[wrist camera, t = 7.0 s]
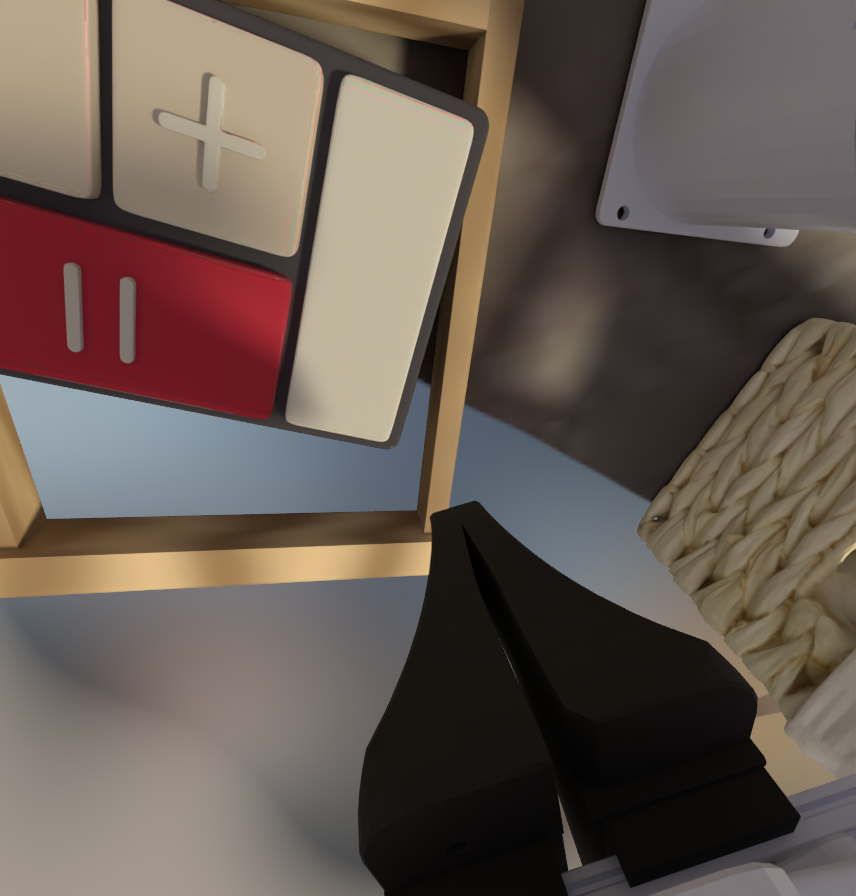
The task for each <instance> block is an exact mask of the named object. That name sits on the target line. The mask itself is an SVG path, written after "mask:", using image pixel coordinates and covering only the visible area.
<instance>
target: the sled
mask: <svg viewBox="0 0 856 896" xmlns="http://www.w3.org/2000/svg"><path fill="white" fill-rule="evenodd" d="M218 1H223V2H228V3H233V4H238V5H243V6H248V7H253V8H258V9H263V10H268V11H273V12H278V13H283V14H288V15H293V16H298V17H303V18H308V19H313V20H318V21H323V22H328V23H333V24H338V25H343V26H348V27H353V28H358V29H363V30H368V31H373V32H378V33H383V34H388V35H393V36H398V37H403V38H408V39H413V40H418V41H423V42H428V43H433V44H438V45H443V46H448V47H453V48H458V49H463V50H468V51H469V52H468V61H467V70H466V79H465V87H464V96H463V101H466V102H468V103H471V104H473V105H475V106H477V107H479V108H481V109H482V110H483V111H484V112H485V113H486V115H487V117H488V120H489V131H488V136H487V139H486V143H485V147H484V150H483V153H482V157H481V160H480V164H479V167H478V171H477V174H476V178H475V181H474V185H473V188H472V192H471V195H470V198H469V202H468V205H467V209H466V212H465V216H464V219H463V223H462V226H461V230H460V233H459V236H458V240H457V243H456V247H455V250H454V254H453V257H452V261H451V264H450V268H449V271H448V274H447V278H446V281H445V285H444V288H443V292H442V295H441V301H440V310H439V319H438V328H437V337H436V346H435V355H434V364H433V372H432V381H431V390H430V399H429V408H428V417H427V426H426V436H425V444H424V453H423V462H422V471H421V479H420V489H419V497H418V507H417V510H416V511H375V512H331V513H292V514H291V513H288V514H249V515H248V514H246V515H204V516H163V517H122V518H120V517H119V518H77V519H76V518H75V519H46V516H45V513H44V510H43V507H42V504H41V501H40V498H39V496H38V492H37V490H36V487H35V484H34V481H33V479H32V475H31V472H30V469H29V467H28V463H27V461H26V458H25V455H24V452H23V449H22V446H21V443H20V440H19V437H18V435H17V432H16V429H15V426H14V423H13V420H12V417H11V414H10V411H9V409H8V406H7V403H6V400H5V397H4V394H3V391H2V388H1V385H0V598H9V597H28V596H46V595H65V594H83V593H101V592H120V591H138V590H156V589H175V588H193V587H212V586H229V585H248V584H266V583H285V582H304V581H321V580H339V579H340V580H341V579H358V578H377V577H395V576H412V575H413V576H414V575H429V568H430V558H431V543H432V531H431V522H430V516H431V515H432V513H434V512H438V511H441V510H445V509H448V508H449V502H450V501H449V500H450V495H451V488H452V482H453V475H454V468H455V462H456V455H457V448H458V442H459V435H460V429H461V421H462V415H463V409H464V402H465V395H466V389H467V382H468V375H469V369H470V362H471V355H472V349H473V342H474V336H475V329H476V322H477V316H478V309H479V302H480V296H481V289H482V282H483V276H484V269H485V262H486V256H487V249H488V242H489V236H490V229H491V223H492V216H493V209H494V203H495V196H496V189H497V183H498V176H499V169H500V163H501V156H502V149H503V143H504V136H505V130H506V123H507V116H508V110H509V103H510V96H511V90H512V83H513V76H514V70H515V63H516V56H517V50H518V43H519V36H520V30H521V23H522V17H523V10H524V3H525V0H218Z"/></svg>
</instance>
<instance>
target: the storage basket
mask: <svg viewBox="0 0 856 896" xmlns="http://www.w3.org/2000/svg"><path fill="white" fill-rule="evenodd" d="M654 517H658V519H657V520H654V519H653V518H654ZM638 534H639V536H640V537H641V539H642V540H643V541H645V542H646V543H647V546H648V547H649V549H650V550H651V551H652V552H653V554H654V555H655V557H656V558H657V559H658V560H659V562H660V563H662V565H664V566H667V567H669V572H670V573H671V574H672V576H673V577H674V579H673V580H674V582H675V583H676V584H677V585H678V586H679V587H680V589H681V590H682V591H683V592H685V593H686V594H687V595H688V596H690V597H691V598H692V600H693V602H694V604H695V605H696V606H697V609H698V611H699V612H700V614H701V615H702V617H703V618H704V620H705V621H706V622H707V623H708V624H709V625H710V626H711V627H712V628H713V629H714V630H716V631H717V632H718V633H719V634H720V635H722V636H725V637H724V642H725V643H726V644H727V645H728V646H729V647H730V649H731V650H732V651H733V652H734V653H735V654H736V655H737V656H739V657H741V658H742V661H743V663H744V664H745V665H746V667H747V668H748V670H749V671H750V672H751V673H752V675H753V676H754V677H756V678H757V679H758V680H759V681H760V682H762V683H763V684H764V686H765V687H766V689H767V690H768V692H769V694H770V695H771V697H772V698H773V699H774V700H775V701H776V702H777V704H778V706H779V708H780V710H781V712H782V713H783V715H784V717H785V718H786V720H787V722H786V725H785V727H784V730H785V733H786V734H787V735H788V736H789V738H790V739H792V740H793V741H794V742H795V743H796V744H797V745H798V746H799V747H800V749H801V750H802V751H803V752H804V753H805V754H806V755H808V756H809V757H810V758H811V759H813V760H814V761H816V762H817V763H819V764H821V765H822V766H824V767H826V768H827V769H828V770H829V771H830V772H831V773H832V774H833V775H834V776H835V778H836V779H837V780H838V779H841V778H844V777H847V776H850V775H853V774H856V325H854V324H851V323H846V322H837V321H833V320H828V319H821V318H811V319H809V320H807V321H805V322H803V323H802V324H800V325H798V326H797V327H795V328H794V329H792V330H791V331H790V332H789V333H788V334H787V335H786V336H785V337H784V338H783V339H782V340H781V341H780V342H779V343H778V344H777V345H776V347H775V348H774V349H773V350H772V352H771V353H770V354H769V356H768V357H767V358H766V360H765V361H764V363H763V364H762V367H761V370H759V371H758V372H757V373H756V374H755V375H753V376H752V377H751V379H750V380H749V381H748V382H747V383H746V385H745V386H744V387H743V388H742V390H741V391H740V392H739V394H738V395H737V397H736V398H735V400H734V401H733V403H732V404H731V406H730V407H729V408H728V409H727V410H726V411H725V412H723V413H722V414H721V415H720V417H719V418H718V419H717V420H716V421H715V423H714V424H713V425H712V427H711V428H710V429H709V430H708V432H707V433H706V435H705V436H704V437H703V439H702V440H701V441H700V443H699V444H698V446H697V448H696V449H695V450H694V451H692V452H691V453H690V455H689V456H688V457H687V458H686V459H685V460H684V462H683V463H682V465H681V466H680V468H679V469H678V471H677V472H676V473H675V475H674V477H673V478H672V480H671V482H670V483H669V484H668V485H667V486H664V487H663V488H662V489H661V490H660V492H659V493H658V494H657V496H656V497H655V498H654V500H653V501H652V503H651V505H650V507H649V509H648V510H647V512H646V514H645V516H644V517H643V519H642V520H641V522H640V524H639V527H638Z"/></svg>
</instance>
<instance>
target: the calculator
mask: <svg viewBox="0 0 856 896" xmlns="http://www.w3.org/2000/svg"><path fill="white" fill-rule="evenodd" d="M488 131H489V120H488V117H487V115H486V113H485V112H484V111H483V110H482V109H481V108H479V107H477V106H475V105H473V104H471V103H468V102H466V101H463V100H461V99H458V98H456V97H454V96H451V95H449V94H446V93H444V92H441V91H439V90H436V89H434V88H431V87H429V86H427V85H424V84H422V83H419V82H417V81H414V80H412V79H409V78H407V77H404V76H402V75H400V74H397V73H395V72H392V71H390V70H387V69H385V68H382V67H380V66H377V65H375V64H373V63H370V62H368V61H365V60H363V59H360V58H358V57H355V56H353V55H350V54H348V53H346V52H343V51H341V50H338V49H336V48H333V47H331V46H328V45H326V44H323V43H321V42H319V41H316V40H314V39H311V38H309V37H306V36H304V35H301V34H299V33H296V32H294V31H292V30H289V29H287V28H284V27H282V26H279V25H277V24H274V23H272V22H269V21H267V20H265V19H262V18H260V17H257V16H255V15H252V14H250V13H247V12H245V11H242V10H240V9H238V8H235V7H233V6H230V5H228V4H225V3H223V2H220V1H218V0H0V374H1V375H6V376H12V377H17V378H22V379H27V380H32V381H37V382H43V383H48V384H53V385H58V386H63V387H68V388H73V389H78V390H84V391H89V392H94V393H99V394H104V395H109V396H114V397H119V398H124V399H129V400H135V401H140V402H145V403H150V404H156V405H160V406H165V407H170V408H176V409H181V410H186V411H191V412H196V413H202V414H207V415H211V416H217V417H222V418H227V419H232V420H238V421H242V422H247V423H253V424H258V425H263V426H268V427H273V428H278V429H284V430H288V431H293V432H299V433H304V434H309V435H314V436H319V437H324V438H329V439H334V440H340V441H345V442H351V443H355V444H360V445H365V446H370V447H375V448H382V449H391V448H393V447H395V446H396V445H397V444H398V442H399V440H400V437H401V433H402V430H403V427H404V423H405V419H406V416H407V413H408V409H409V406H410V402H411V399H412V395H413V392H414V388H415V385H416V382H417V378H418V375H419V371H420V368H421V364H422V361H423V357H424V354H425V351H426V347H427V344H428V340H429V337H430V333H431V330H432V326H433V323H434V319H435V316H436V313H437V309H438V306H439V302H440V299H441V295H442V292H443V288H444V285H445V281H446V278H447V274H448V271H449V268H450V264H451V261H452V257H453V254H454V250H455V247H456V243H457V240H458V236H459V233H460V230H461V226H462V223H463V219H464V216H465V212H466V209H467V205H468V202H469V198H470V195H471V192H472V188H473V185H474V181H475V178H476V174H477V171H478V167H479V164H480V160H481V157H482V153H483V150H484V147H485V143H486V139H487V136H488Z"/></svg>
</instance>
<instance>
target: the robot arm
mask: <svg viewBox="0 0 856 896" xmlns="http://www.w3.org/2000/svg"><path fill="white" fill-rule="evenodd" d="M621 206H622V207H623V209H624V214H623V216H622V218H621V219H620V220H619V219H618V217H617V212H618V210H619V208H620V207H621ZM596 219H597V221H598V222H599V224H601V225H604V226H612V227H620V228H628V229H636V230H645V231H653V232H661V233H669V234H677V235H685V236H693V237H701V238H710V239H718V240H726V241H734V242H742V243H750V244H758V245H766V246H775V247H787V246H788V245H790V244H791V243H792V242H793V241H794V240H795V238H796V237H797V235H798V232H799V230H810V231H829V232H848V233H856V0H647V2H646V6H645V10H644V14H643V18H642V22H641V26H640V30H639V35H638V39H637V43H636V47H635V51H634V55H633V59H632V63H631V68H630V72H629V76H628V80H627V84H626V88H625V92H624V96H623V101H622V105H621V109H620V113H619V117H618V121H617V125H616V129H615V134H614V138H613V142H612V146H611V150H610V154H609V158H608V162H607V167H606V171H605V175H604V179H603V183H602V187H601V191H600V195H599V200H598V204H597V208H596ZM766 228H767V233H766V235H765V236H764V231H765V230H766ZM430 522H431V531H432V543H431V558H430V568H429V575H428V581H427V587H426V592H425V598H424V603H423V607H422V611H421V616H420V619H419V623H418V627H417V630H416V633H415V636H414V640H413V643H412V646H411V649H410V652H409V655H408V658H407V660H406V663H405V666H404V669H403V671H402V673H401V676H400V678H399V681H398V683H397V686H396V688H395V691H394V693H393V695H392V697H391V700H390V702H389V704H388V706H387V708H386V711H385V713H384V715H383V717H382V719H381V721H380V722H379V724H378V727H377V729H376V730H375V733H374V735H373V736H372V738H371V740H370V742H369V744H368V746H367V748H366V752H365V757H364V763H363V769H362V775H361V783H360V791H359V806H358V826H359V827H358V828H359V854H360V856H361V859H362V861H363V863H364V865H365V866H366V867H367V868H368V870H369V871H370V872H371V874H372V875H373V876H374V877H375V879H376V880H377V881H378V883H379V884H380V885H381V887H382V888H383V889H384V895H385V896H856V774H853V775H850V776H847V777H844V778H841V779H838V780H836V781H833V782H830V783H827V784H824V785H821V786H818V787H815V788H812V789H809V790H806V791H803V792H800V793H797V794H794V795H791V796H788V797H786V796H785V794H784V793H783V792H782V790H781V789H780V788H779V787H778V785H777V784H776V783H775V781H774V780H773V779H772V777H771V776H770V775H769V773H768V772H767V771H766V769H765V768H764V767H763V766H765V765H766V760H765V758H764V756H763V754H762V753H761V752H760V750H759V749H758V748H757V747H756V745H755V744H754V743H753V741H752V740H751V739H750V735H751V732H752V728H753V724H754V721H755V717H756V713H757V702H758V697H757V695H756V693H755V691H754V689H753V688H752V687H751V686H750V685H749V683H748V682H747V681H746V680H745V679H744V678H743V676H742V675H741V674H740V673H739V672H738V671H737V670H736V669H735V668H734V667H733V666H732V665H731V664H730V663H729V662H728V661H727V660H726V659H725V658H724V657H723V656H722V655H721V654H720V653H719V652H717V650H715V648H713V647H712V646H711V645H710V644H709V643H708V642H707V641H704V640H701V639H699V638H696V637H693V636H691V635H688V634H685V633H682V632H679V631H677V630H674V629H671V628H668V627H666V626H663V625H660V624H658V623H656V622H653V621H651V620H649V619H646V618H644V617H642V616H639V615H637V614H635V613H633V612H631V611H629V610H626V609H625V608H623V607H621V606H619V605H617V604H615V603H613V602H611V601H609V600H607V599H605V598H603V597H601V596H599V595H597V594H595V593H593V592H592V591H590V590H588V589H587V588H585V587H583V586H581V585H580V584H578V583H576V582H574V581H573V580H571V579H570V578H568V577H567V576H565V575H564V574H562V573H560V572H559V571H557V570H556V569H555V568H553V567H551V566H550V565H549V564H547V563H546V562H545V561H543V560H542V559H541V558H539V557H538V556H537V555H535V554H534V553H533V552H531V551H530V550H529V549H528V548H526V547H525V546H524V545H523V544H522V543H520V542H519V541H518V540H517V539H516V538H514V537H513V536H512V535H511V534H510V533H509V532H507V531H506V530H505V529H504V528H503V527H502V526H501V525H500V524H499V523H498V522H497V521H496V520H495V519H494V518H493V517H492V516H491V515H490V514H489V513H488V512H487V511H486V510H485V509H484V508H483V506H482V505H481V504H480V503H479V502H477V501H472V502H469V503H465V504H462V505H459V506H455V507H451V508H448V509H445V510H441V511H438V512H434V513H432V515H431V516H430ZM499 639H500V640H499ZM502 646H503V647H502ZM503 648H504V649H503ZM504 650H505V651H504ZM505 652H506V654H505ZM506 655H507V656H506ZM507 657H508V658H507ZM508 659H509V661H510V663H511V665H512V668H513V670H514V672H513V670H512V668H511V665H510V663H509V661H508ZM514 673H515V674H514ZM515 675H516V677H517V679H516V677H515ZM517 680H518V681H517ZM558 796H559V798H560V801H561V804H562V807H563V810H564V813H565V816H566V819H567V822H568V825H569V828H570V831H571V834H572V836H573V839H574V842H575V845H576V848H577V851H578V854H579V857H580V860H581V863H582V866H581V867H578V868H575V869H572V870H569V871H568V866H567V860H566V854H565V849H564V842H563V836H562V834H563V833H564V831H563V825H562V818H561V812H560V806H559V800H558Z"/></svg>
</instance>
